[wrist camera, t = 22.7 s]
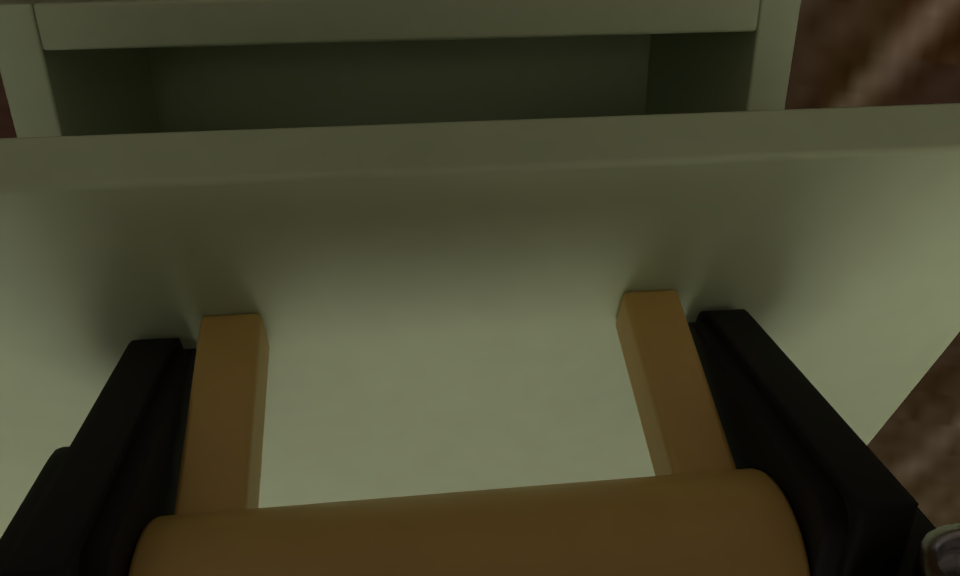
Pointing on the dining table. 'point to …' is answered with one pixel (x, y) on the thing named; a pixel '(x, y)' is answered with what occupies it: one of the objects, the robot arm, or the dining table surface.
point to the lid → (473, 326)
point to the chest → (383, 61)
